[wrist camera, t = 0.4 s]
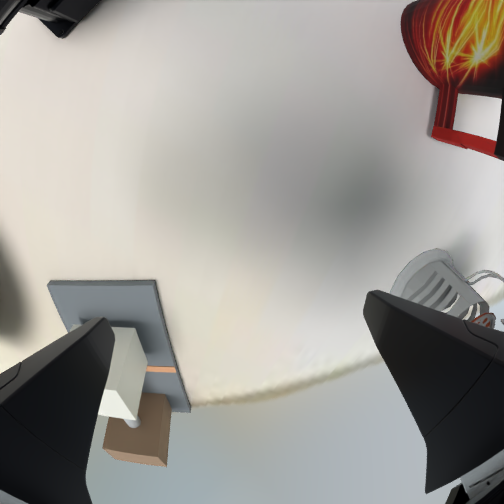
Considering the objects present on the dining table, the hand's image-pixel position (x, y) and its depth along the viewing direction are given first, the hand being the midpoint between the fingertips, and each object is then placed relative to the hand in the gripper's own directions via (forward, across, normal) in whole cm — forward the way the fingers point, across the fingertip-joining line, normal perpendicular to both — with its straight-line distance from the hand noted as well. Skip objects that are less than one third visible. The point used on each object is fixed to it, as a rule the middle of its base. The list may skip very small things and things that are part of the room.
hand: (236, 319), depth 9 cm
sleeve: (+11, -14, -13) cm, 22 cm away
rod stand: (+13, -14, -18) cm, 26 cm away
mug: (+14, +20, +12) cm, 27 cm away
